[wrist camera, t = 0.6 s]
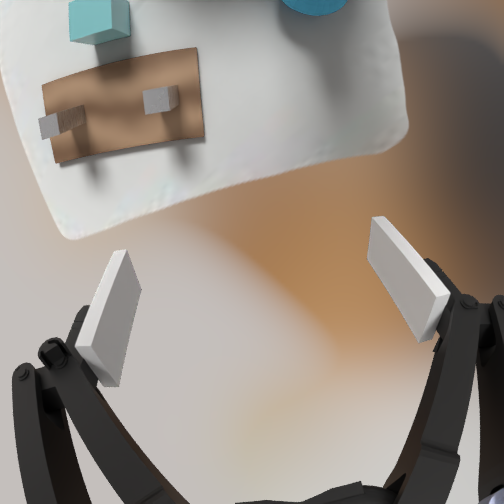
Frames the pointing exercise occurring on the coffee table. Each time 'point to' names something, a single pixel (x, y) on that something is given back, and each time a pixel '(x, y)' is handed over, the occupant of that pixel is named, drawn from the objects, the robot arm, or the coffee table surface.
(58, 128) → the post
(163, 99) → the post
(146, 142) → the board
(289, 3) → the perfume bottle
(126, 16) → the teal rectangular prism
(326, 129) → the coffee table surface
